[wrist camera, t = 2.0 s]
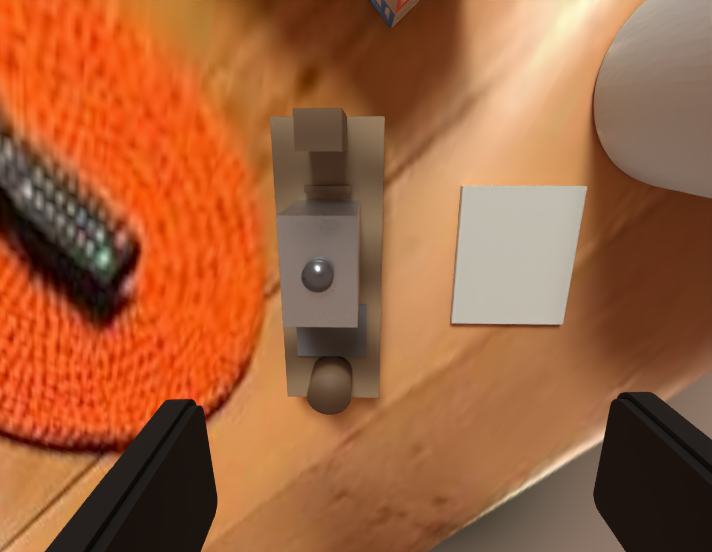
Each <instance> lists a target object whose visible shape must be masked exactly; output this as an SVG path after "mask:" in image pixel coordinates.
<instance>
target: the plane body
mask: <svg viewBox="0 0 712 552" xmlns="http://www.w3.org/2000/svg"><path fill="white" fill-rule="evenodd" d="M270 124H271V140H272V156H273V171H274V187H275V203H276V215H278V214H279V213H280V212H282V211H283V210H284V209H286V208H287V207H289V206H290V205H291V204H293V203H294V202H295V201H297V200H298V199H349V200H360V288H359V307H358V326H357V328H355V327H283V328H284V344H285V360H286V376H287V391H288V396H292V397H307V399H308V402H309V404H310V405H311V407H312V408H313V409H314V410H316V411H317V412H319V413H322V414H326V415H333V414H338V413H340V412H342V411H344V410H345V409H346V408H347V407H348V405H349V404H350V401H351V397H357V398H379V367H380V319H381V270H382V222H383V173H384V125H385V116H346V114H345V113H344V111H343V109H342V108H293V116H291V117H270Z"/></svg>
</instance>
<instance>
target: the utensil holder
mask: <svg viewBox="0 0 712 552" xmlns="http://www.w3.org/2000/svg"><path fill="white" fill-rule="evenodd" d="M594 118H595V126H596V130H597V133H598V137H599V139H600V142H601V144H602V146H603V148H604V150H605V152H606V153H607V155H608V157H609V158H610V159H611V161H612V162H613V163H614V164H615V165H616V166H617V167H618V168H619V169H620V170H622V171H623V172H624V173H626V174H627V175H629V176H630V177H632V178H634V179H636V180H638V181H641V182H643V183H646V184H649V185H653V186H656V187H660V188H665V189H669V190H674V191H680V192H684V193H688V194H693V195H697V196H702V197H707V198H712V0H646V1H645V2H644V3H643V4H642V5H640V6H639V7H638V8H637V10H636V11H635V12H634V13H633V14H632V15H631V16H630V17H629V18H628V20H627V21H626V22H625V23H624V25H623V26H622V28H621V29H620V30H619V32H618V33H617V35H616V36H615V38H614V40H613V42H612V43H611V45H610V47H609V49H608V51H607V53H606V55H605V57H604V60H603V62H602V65H601V67H600V71H599V74H598V78H597V82H596V87H595V94H594Z"/></svg>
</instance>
